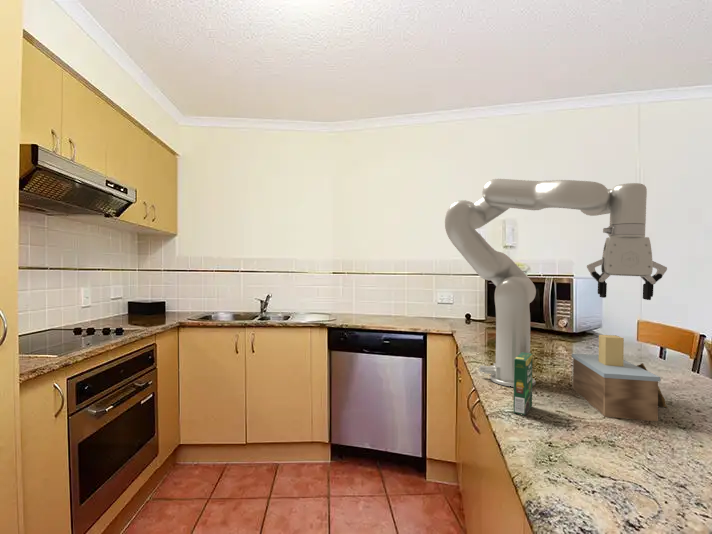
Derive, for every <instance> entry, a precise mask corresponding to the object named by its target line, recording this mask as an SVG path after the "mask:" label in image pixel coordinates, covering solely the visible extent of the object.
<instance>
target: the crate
mask: <svg viewBox="0 0 712 534" xmlns="http://www.w3.org/2000/svg"><path fill="white" fill-rule="evenodd" d="M572 362H573V365H572V389H573V390H574V392H576V393H577V394H578V395H579V396H581V397H582V398H583V400H585V401H586V402H587V403H589V404H590V405H591V406H592V407H593V408H594V409H595V408H596V409H595V410H597V412H599V413H600V414H601V415H602V416H604V418H605V417H607V418H617V419H625V420H626V419H628V420H639V421H649V422H658V421H659V419H658V418H659V416H658V415H659V406H658V386H659V382H658V381H644V380H629V379H615V378H604V377H602V376H601V375H599V374H598V373H596V372H595V371H593V370H591V369H590V368H588V367H587V366H585V365H584V364H582V363H580V362H579V361H577V360H576V359H574V358H573V357H572Z"/></svg>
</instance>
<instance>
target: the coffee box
mask: <svg viewBox="0 0 712 534" xmlns="http://www.w3.org/2000/svg"><path fill="white" fill-rule="evenodd" d="M533 361H534V358H533V353H531V352H530V353H524V352H521V353H520V354H519V355H518V356H517V357H516V358H515V359H514V387H513V414H514V413H518V414H517V415H519V414H522V415H521V416H523V415H525V416H526V415H527V414H528V412H530V410H531V408H532V407H533V386H532V378H533Z"/></svg>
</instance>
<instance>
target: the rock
mask: <svg viewBox="0 0 712 534" xmlns="http://www.w3.org/2000/svg"><path fill="white" fill-rule="evenodd" d="M636 366H638V367H640V368H642V369H644V370H646V371H648V369H647V367H646V366H645V364H644V363H640V364H638V365H636ZM660 407H661V408H665V407H666V408H667V409H668V408H669V406H668V405H667V404H666V399H665V397H664V396H663V394H662V391H661V388H660V387H659V385H658V408H660Z"/></svg>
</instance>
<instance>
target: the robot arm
mask: <svg viewBox="0 0 712 534" xmlns="http://www.w3.org/2000/svg"><path fill="white" fill-rule="evenodd" d="M481 193H482V194H481V195H482V198H480V199H479V200H478V201H476V202H472V201H469V200H466V199H465V200H463V199H462V200H458V201H455V202H453V203H452V204H451V205H450V206H449V207H448V209H447V211H446V212H445V213H446V214H445V217H444V229H445V232H446V236H447V237H448V239H449V241H450V242H451V243H452V245H453V246H454V247H455V249H457V251H458V252H459V253H460V254H461V256H462V257H463V259H465V260H466V261H467V263H468V264H469V265H470V266H471V268H472V269H473V270H474V272H476V274H477V275H478V276H479V277H480V278H481V279H483V280H486V281H491V282H492V283H493V285H494V286H495V290H494V305H495V362H493V365H490V366H488V365H479V372H480V373H484V374H487V375H488V374H490V376H489V377H490V378H489V379H490V381H491V382H493V383H495V384H498V385H501V386H505V387H510V386H511V388H514V359H515V358H516V357H517V356H518V355H519V354H520V353H521V352H524V353H530V354H531V312H530V303H532V302H533V301H534V299H535V298H536V294H537V289H536V285H535V284H534V283H533V281H532V280H531V278H530V277H528V275H527V274H526V273H525V272H524V271H523V270H522V269H521V268H520V267H519V266H518V265H517V263H515V262H514V261H513V259H512V258H511V257H509V256H508V255H507V254H505V253H504V252H501V251H497V250H496V249H494V248H493V247H492V246H491V245H490V244H489V243H488V241H486V239H485V238H484V237H483V236H482V235H481V234H480V233H479V232H478V231H477V229H480V228H482V227H484V226H486V225H487V224H489V223H490V222H492V221H493V220H495V219H496V218H498V217H499V216H501V215H502V214H504V213H506V211H508V210H509V209H518V210H527V211H541V210H543V209H550V208H553V209H555V208H556V209H567V210H569V209H570V210H580V212H581V213H582V214H584V215H586V216H590V217H593V216H602V215H608V214H609V225H608V227H603V229H602V233H603V234H607V235H608V236H609V237H608V236H607V237H606V238H605V241H604V245H603V250H602V251H603V252H602V257H601V259H598V260H596V261H594V262H591V263H589V264H587V265H586V269H587V270H588V272H589V273H590V276H591V277H592V278H593V279H594V280H595V281H596V282H597V294H598V295H599V297H600V298H604V299H605V298H607V291H608V290H607V289H608V286H607V284H608V283H607V282H606V280H607V279H608V278H609V277H611V276H622V277H623V276H624V277H625V276H626V277H629V276H630V277H640V278H641V279H642V280H643V281H644V283H643V284H642V299H643V300H645V301H651V300H652V297H653V295H654V285H655V284H656V283H657V282H658V281H660V280H661V279H662V278H663V276H664V275H665V273H666V272H667V270H668V267H667V266H665V265H662V264H660V263H658V262H656V261H654V260H653V252H652V251H653V249H652V243H651V239H650V237H648V236H646V223H647V222H646V221H647V199H648V198H647V197H648V191H647V186H646V185H645V184H643V183H639V182H630V183H629V182H628V183H622V184H618V185H615V186H613V187H612V188H609V189H608V187H606V185H604V184H603V183H600V182H597V181H590V180H588V181H587V180H574V179H573V180H572V179H556V180H554V179H552V180H529V179H528V180H526V179H524V180H523V179H511V178H494V179H490V180H489V181H487V182H486V183H485V184H484V185H483V188H482V192H481ZM599 266H601V270H600V271H601V274H599V273H598V272H597V270H596V268H597V267H599ZM653 268H654V269H655V270H656V272H655V274H653V270H654V269H653ZM652 274H653V275H652ZM536 382H537V381H536V380H535V378H533V377H532V387H534V386H535V385H536Z"/></svg>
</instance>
